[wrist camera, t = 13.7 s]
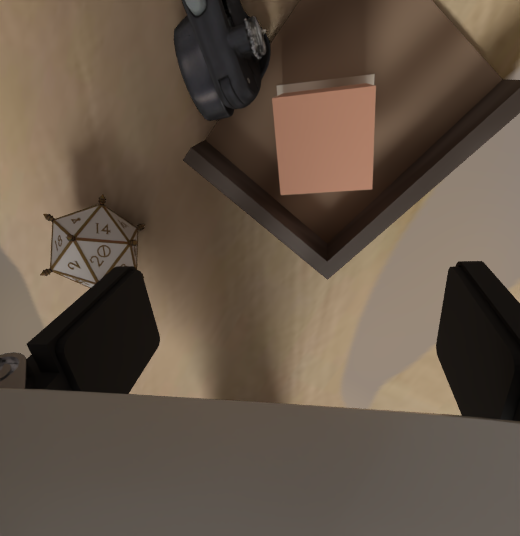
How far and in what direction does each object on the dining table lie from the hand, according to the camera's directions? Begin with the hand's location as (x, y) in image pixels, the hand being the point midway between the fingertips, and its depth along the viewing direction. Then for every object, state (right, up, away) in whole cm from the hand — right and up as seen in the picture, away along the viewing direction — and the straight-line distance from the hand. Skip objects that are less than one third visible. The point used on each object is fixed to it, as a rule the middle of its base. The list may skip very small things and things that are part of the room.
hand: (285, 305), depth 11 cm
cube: (+4, +12, +16) cm, 21 cm away
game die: (-15, +5, +25) cm, 29 cm away
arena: (+5, +12, +16) cm, 21 cm away
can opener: (-4, +21, +13) cm, 25 cm away
